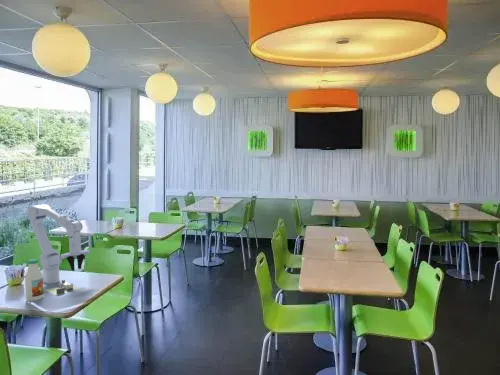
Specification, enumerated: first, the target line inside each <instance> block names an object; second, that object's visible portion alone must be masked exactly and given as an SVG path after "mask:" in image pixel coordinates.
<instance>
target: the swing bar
mask: <svg viewBox="0 0 500 375" xmlns="http://www.w3.org/2000/svg"><path fill="white" fill-rule="evenodd" d="M73 285H74V283H68V282H67V281H66V279H61V282H60V286H61V287H64V288H65V289H67V290H72V289H73Z"/></svg>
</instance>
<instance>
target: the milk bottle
mask: <svg viewBox="0 0 500 375" xmlns="http://www.w3.org/2000/svg"><path fill="white" fill-rule="evenodd" d="M27 266H28V268H27V270H26V274H25V277H24V282H25V283H24V284H25V285H24V287H25V301H26V302H27V303H33V301H38V300H41V299H43V298H44V297H45V295H44V294H45V292H44V291H45V290H44V283H43V273H42V271H41V269H40V267H39V259H38V258H32V259H31V258H29V259H28V260H27Z"/></svg>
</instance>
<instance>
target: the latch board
mask: <svg viewBox="0 0 500 375" xmlns="http://www.w3.org/2000/svg"><path fill="white" fill-rule="evenodd" d="M79 290H83V288H81V287H80V286H77V285H75V284H73V289H72V290H67V289H65V288H64V287H61V286H56V287H52V288H46V289H44V291H45V292H47V293H49V294H51V295H53V296H60V295H63V294H67V293H70V292H75V291H79Z"/></svg>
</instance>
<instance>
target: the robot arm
mask: <svg viewBox="0 0 500 375" xmlns="http://www.w3.org/2000/svg"><path fill="white" fill-rule="evenodd" d="M26 213H27V216H28V219H29V223H30V226H31V229H32V231H33V233H34V235H35V238H36V240H37V243H38V246H39V248H40V250H41V252H42V253H41V254H40V255H39V259H40V266H41V267H42V268H43V269H42V271H41V273H42V276H43V284H48V285H49V284H51V285H52V284H56V283H58V282H60V267H61V264H62V262H63V260H64V259H66V260H67V261H68V264H69V267H70V270H71V271H75V258H74V257H76V261H77V269H79V270H81V269H82V266H83V262H84V259H85V258H86V255H89V254H90V250H89V249H85V250H82V241H81V238H82V237H81V231H82V230H83V226H84V225H83V223H82V222H81V221H80V220H75V219H73V218H70V217H69V216H68V215H67V214H59V213H58V212H57V211H55V210H54V209H53V208H51V206H50V205H48V204H46V203H43V204H37V205H30V206H29V207H28V208H27V211H26ZM46 217H49V218H50V219H52V220H54V221H56V223H57V225H59V226H61V227H62V228H64V229H65V230H66V232H67V236H68V243H69V244H68V245H69V246H68V247H69V248H68V249H69V252H65V253H62V254H61V255H60V254H59V252H58V251H57V250H56V249H54V248H53V246H52V243H51V240H50V239H49V236H48V234H47V232H46V229H45V227H44V224H43V222H44V221H45V220H46Z"/></svg>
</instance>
